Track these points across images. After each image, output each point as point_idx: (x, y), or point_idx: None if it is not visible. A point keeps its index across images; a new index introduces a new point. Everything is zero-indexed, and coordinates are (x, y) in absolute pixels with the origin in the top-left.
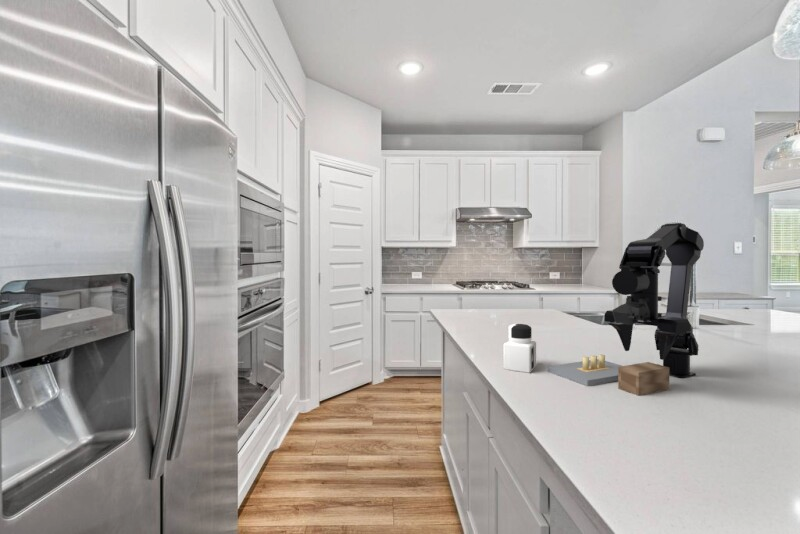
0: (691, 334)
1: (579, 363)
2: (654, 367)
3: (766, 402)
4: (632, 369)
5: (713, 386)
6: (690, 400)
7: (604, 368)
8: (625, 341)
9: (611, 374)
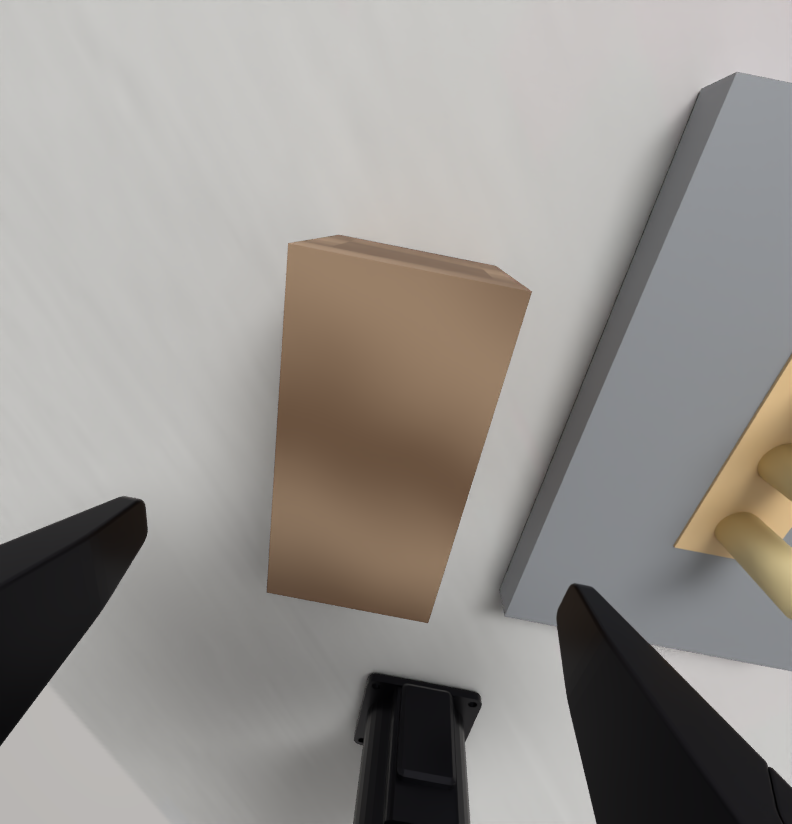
0: None
1: None
2: (319, 522)
3: None
4: (388, 312)
5: (244, 655)
6: (159, 407)
7: (710, 514)
8: (635, 706)
9: (621, 427)
